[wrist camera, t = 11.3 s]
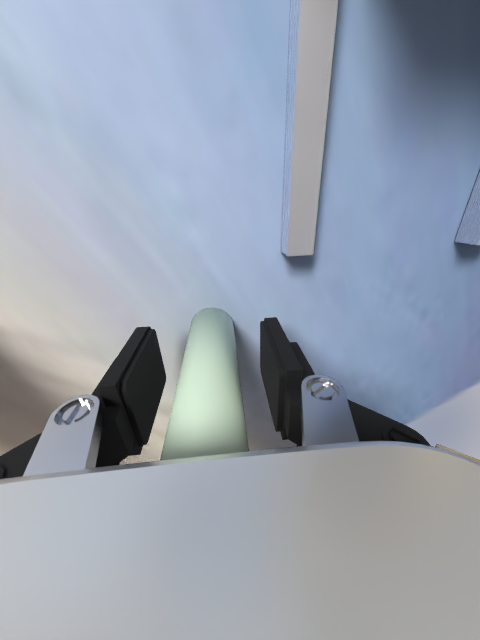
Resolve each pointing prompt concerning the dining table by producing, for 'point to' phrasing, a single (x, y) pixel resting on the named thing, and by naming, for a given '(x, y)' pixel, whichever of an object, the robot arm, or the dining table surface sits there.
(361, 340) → the dining table surface
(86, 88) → the dining table surface
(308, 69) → the guide rails
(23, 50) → the dining table surface
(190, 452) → the dowel
